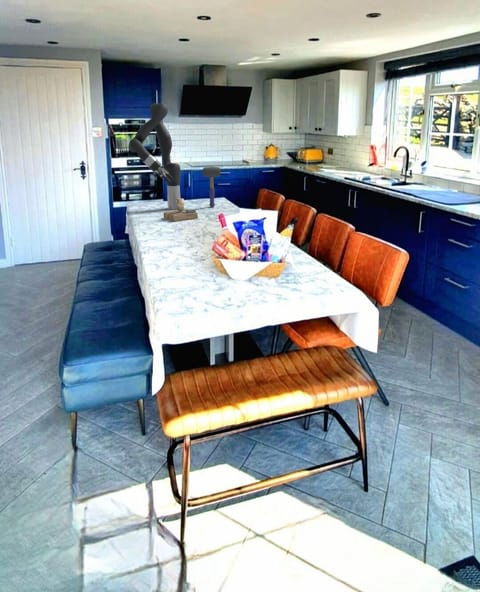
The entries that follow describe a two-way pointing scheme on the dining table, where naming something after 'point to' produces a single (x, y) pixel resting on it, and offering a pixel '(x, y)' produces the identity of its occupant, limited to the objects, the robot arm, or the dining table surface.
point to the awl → (180, 205)
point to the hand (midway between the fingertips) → (170, 180)
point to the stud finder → (191, 211)
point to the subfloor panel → (180, 215)
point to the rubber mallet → (211, 180)
